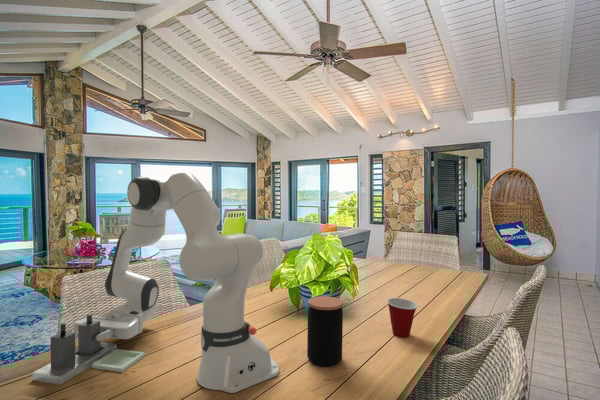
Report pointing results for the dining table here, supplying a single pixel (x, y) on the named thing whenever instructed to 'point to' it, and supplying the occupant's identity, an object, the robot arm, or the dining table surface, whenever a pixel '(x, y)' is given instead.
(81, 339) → the plug
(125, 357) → the tray
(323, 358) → the coffee jar
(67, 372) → the pillar on holed base
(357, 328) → the dining table surface
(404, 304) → the plastic cup
